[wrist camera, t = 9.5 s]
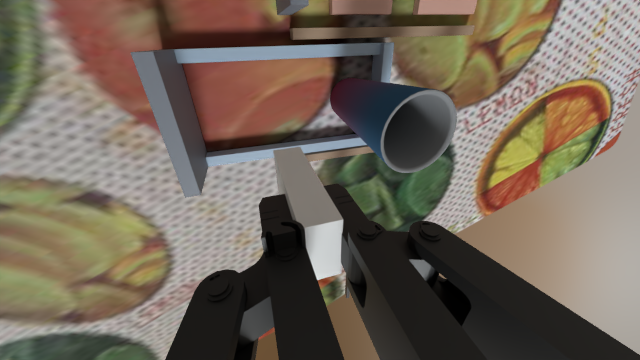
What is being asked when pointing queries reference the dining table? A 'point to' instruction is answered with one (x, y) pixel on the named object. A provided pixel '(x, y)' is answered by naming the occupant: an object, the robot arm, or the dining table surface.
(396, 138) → the cup
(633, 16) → the dining table surface
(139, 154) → the dining table surface
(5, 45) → the dining table surface
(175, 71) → the frame
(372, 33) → the lane guides
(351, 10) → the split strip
